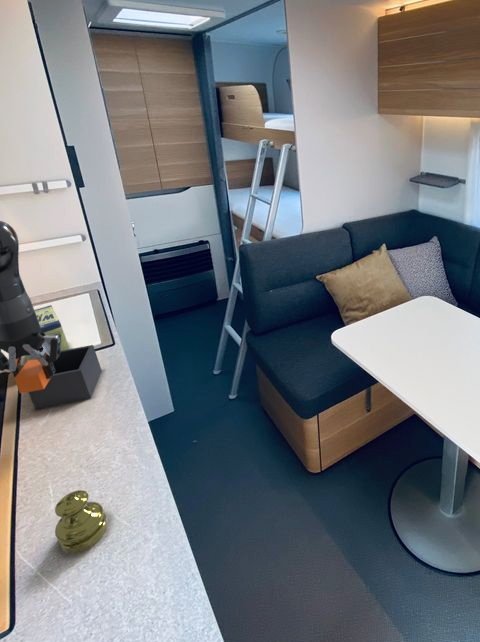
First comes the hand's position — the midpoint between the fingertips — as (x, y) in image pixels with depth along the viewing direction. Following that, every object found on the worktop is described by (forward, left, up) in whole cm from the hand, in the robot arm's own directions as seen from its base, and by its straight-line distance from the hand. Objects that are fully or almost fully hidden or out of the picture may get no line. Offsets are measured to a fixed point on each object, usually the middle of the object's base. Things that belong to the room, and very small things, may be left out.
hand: (37, 378), depth 94 cm
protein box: (-12, +36, -17) cm, 42 cm away
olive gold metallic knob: (+13, -31, -17) cm, 38 cm away
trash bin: (-2, +18, -17) cm, 25 cm away
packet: (0, 0, -1) cm, 1 cm away
